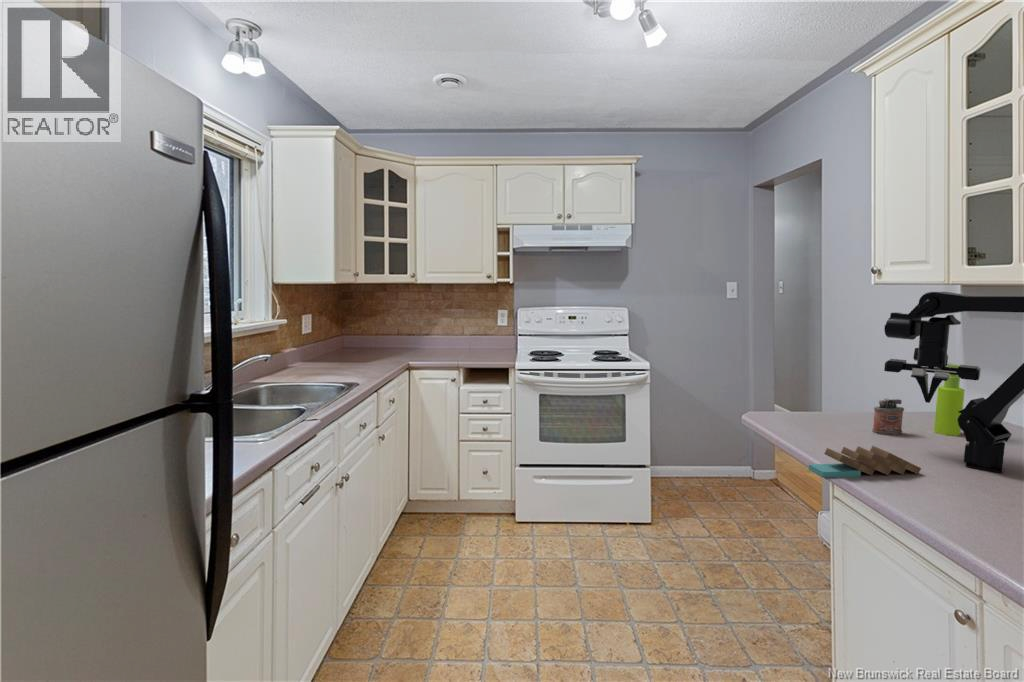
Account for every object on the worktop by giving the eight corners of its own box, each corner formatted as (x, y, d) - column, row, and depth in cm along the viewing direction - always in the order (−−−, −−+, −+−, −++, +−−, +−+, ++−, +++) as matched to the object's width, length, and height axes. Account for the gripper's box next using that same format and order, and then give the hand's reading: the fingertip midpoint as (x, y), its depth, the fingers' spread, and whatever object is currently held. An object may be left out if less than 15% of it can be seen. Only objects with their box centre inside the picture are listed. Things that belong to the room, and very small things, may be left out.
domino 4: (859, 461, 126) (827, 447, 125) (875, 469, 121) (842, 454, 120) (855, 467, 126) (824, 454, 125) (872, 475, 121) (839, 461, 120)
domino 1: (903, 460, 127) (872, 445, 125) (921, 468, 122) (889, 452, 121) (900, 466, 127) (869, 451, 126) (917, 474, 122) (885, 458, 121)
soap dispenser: (935, 428, 159) (942, 361, 157) (964, 434, 153) (971, 365, 151) (925, 430, 156) (932, 363, 154) (954, 436, 150) (961, 366, 148)
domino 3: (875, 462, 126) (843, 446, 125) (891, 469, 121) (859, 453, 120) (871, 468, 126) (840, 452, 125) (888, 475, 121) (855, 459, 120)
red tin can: (877, 434, 153) (880, 400, 151) (869, 431, 156) (871, 397, 155) (905, 434, 153) (908, 400, 152) (896, 431, 156) (899, 397, 155)
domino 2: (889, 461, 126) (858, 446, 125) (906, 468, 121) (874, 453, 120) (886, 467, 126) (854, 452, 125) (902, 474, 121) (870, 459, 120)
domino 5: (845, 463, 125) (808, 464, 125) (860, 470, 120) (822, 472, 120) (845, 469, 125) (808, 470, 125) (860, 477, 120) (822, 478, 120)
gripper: (984, 342, 134) (978, 403, 135) (894, 336, 146) (889, 392, 148) (981, 346, 126) (975, 410, 127) (886, 339, 138) (881, 398, 140)
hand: (927, 402), depth 136 cm, fingers closed
